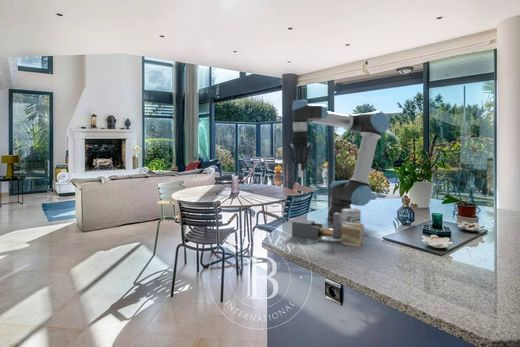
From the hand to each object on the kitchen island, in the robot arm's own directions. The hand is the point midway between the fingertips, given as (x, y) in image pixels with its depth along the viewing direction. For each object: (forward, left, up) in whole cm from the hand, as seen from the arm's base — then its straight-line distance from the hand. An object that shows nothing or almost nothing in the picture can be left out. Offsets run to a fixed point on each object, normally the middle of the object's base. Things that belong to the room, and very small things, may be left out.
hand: (300, 176), depth 172 cm
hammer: (+9, +19, -27) cm, 34 cm away
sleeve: (+9, +8, -28) cm, 31 cm away
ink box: (-10, +24, -29) cm, 39 cm away
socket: (+9, +29, -28) cm, 42 cm away
